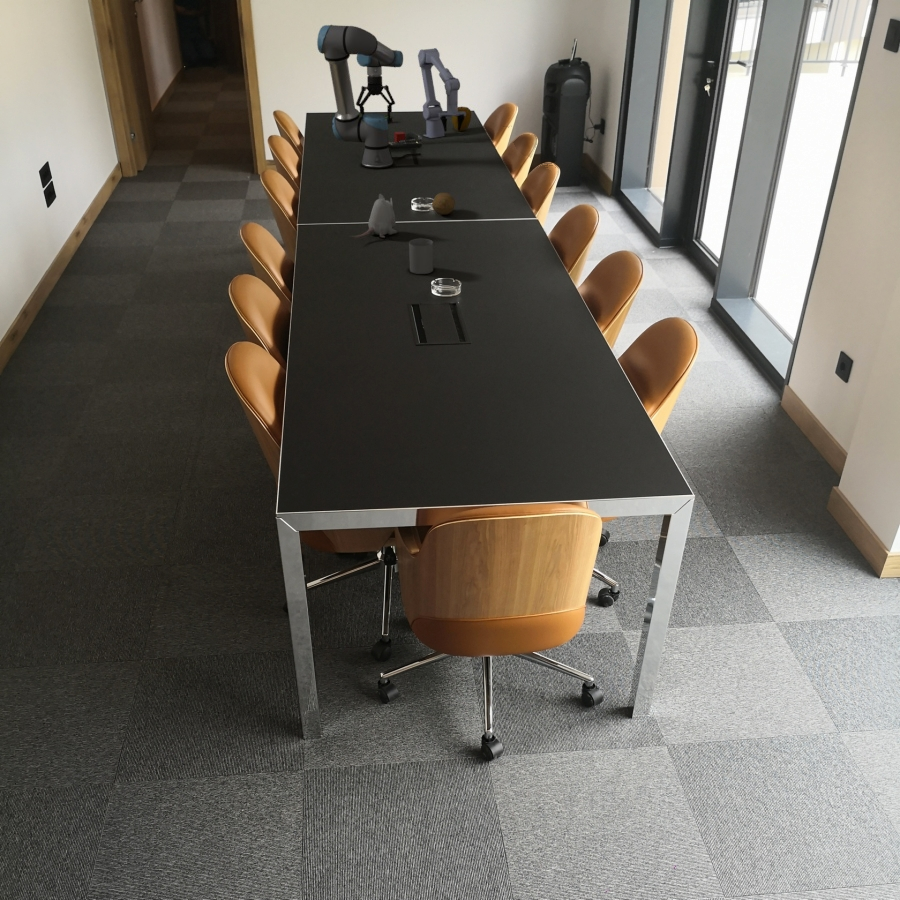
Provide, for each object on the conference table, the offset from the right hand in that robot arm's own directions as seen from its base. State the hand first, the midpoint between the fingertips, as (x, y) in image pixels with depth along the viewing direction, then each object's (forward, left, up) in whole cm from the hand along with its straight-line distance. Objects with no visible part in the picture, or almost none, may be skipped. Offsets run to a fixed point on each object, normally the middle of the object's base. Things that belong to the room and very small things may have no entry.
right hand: (452, 130), depth 463 cm
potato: (+77, +96, -6) cm, 123 cm away
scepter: (+10, -68, -6) cm, 69 cm away
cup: (+122, +143, -6) cm, 188 cm away
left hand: (+36, -18, +7) cm, 41 cm away
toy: (+117, +104, -6) cm, 157 cm away
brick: (+21, -19, -6) cm, 29 cm away
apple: (-22, -20, -6) cm, 30 cm away
